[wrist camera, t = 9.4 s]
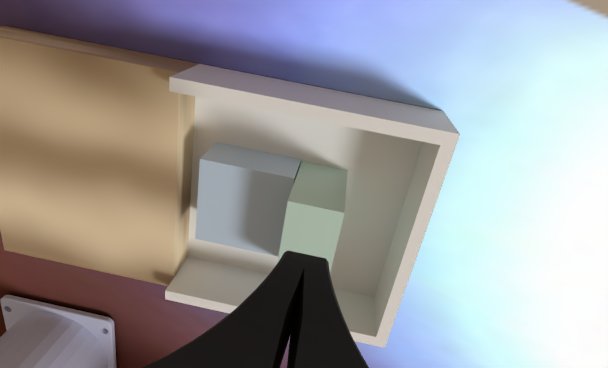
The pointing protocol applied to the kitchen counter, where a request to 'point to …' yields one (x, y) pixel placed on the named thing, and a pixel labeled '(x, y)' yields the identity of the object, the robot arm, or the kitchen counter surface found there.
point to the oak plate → (94, 155)
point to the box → (329, 152)
